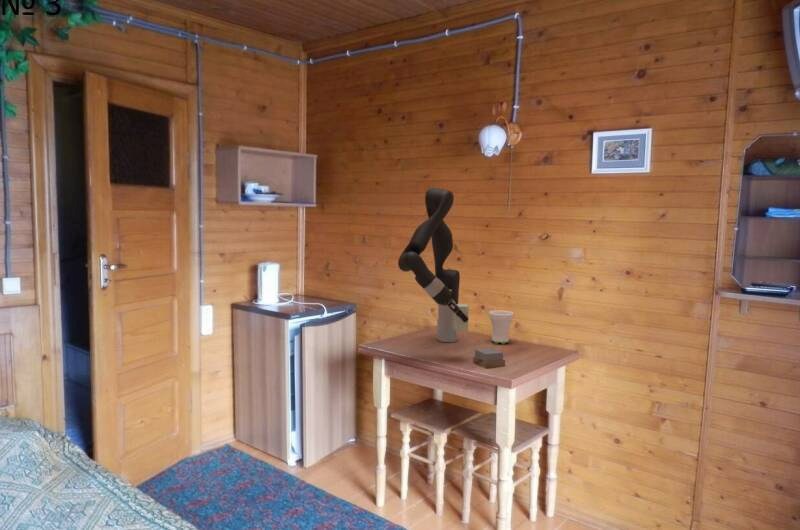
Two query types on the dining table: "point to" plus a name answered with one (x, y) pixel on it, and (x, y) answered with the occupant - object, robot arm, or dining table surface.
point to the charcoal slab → (488, 354)
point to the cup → (500, 325)
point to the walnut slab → (488, 363)
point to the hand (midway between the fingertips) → (465, 319)
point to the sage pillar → (458, 322)
